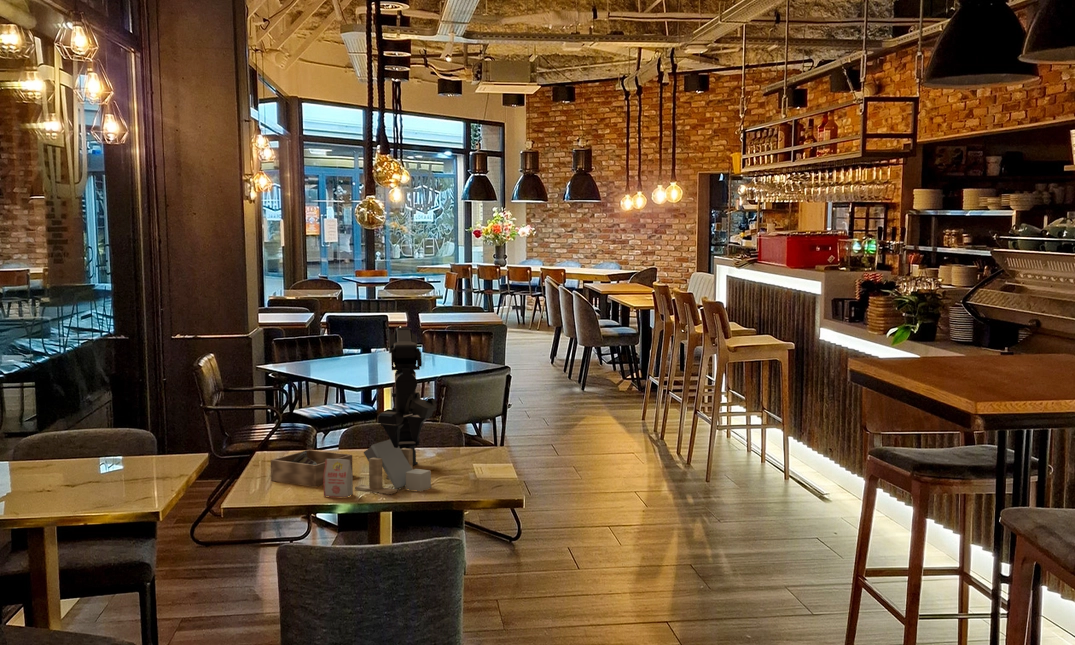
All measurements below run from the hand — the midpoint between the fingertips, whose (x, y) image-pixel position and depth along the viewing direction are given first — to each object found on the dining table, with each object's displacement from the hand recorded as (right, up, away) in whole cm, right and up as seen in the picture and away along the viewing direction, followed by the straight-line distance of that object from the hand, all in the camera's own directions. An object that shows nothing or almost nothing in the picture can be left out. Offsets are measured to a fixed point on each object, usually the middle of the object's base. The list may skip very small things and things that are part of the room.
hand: (405, 444), depth 260 cm
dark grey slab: (-6, -8, +4) cm, 11 cm away
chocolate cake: (-33, -12, +12) cm, 37 cm away
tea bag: (-17, -13, -9) cm, 23 cm away
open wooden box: (-29, -11, +12) cm, 33 cm away
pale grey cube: (+1, -10, 0) cm, 10 cm away
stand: (-4, -12, +3) cm, 13 cm away
